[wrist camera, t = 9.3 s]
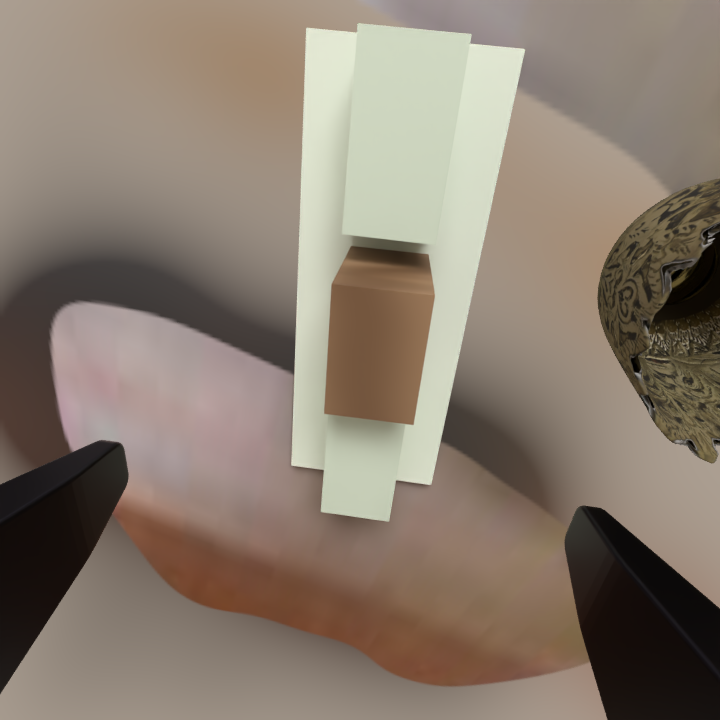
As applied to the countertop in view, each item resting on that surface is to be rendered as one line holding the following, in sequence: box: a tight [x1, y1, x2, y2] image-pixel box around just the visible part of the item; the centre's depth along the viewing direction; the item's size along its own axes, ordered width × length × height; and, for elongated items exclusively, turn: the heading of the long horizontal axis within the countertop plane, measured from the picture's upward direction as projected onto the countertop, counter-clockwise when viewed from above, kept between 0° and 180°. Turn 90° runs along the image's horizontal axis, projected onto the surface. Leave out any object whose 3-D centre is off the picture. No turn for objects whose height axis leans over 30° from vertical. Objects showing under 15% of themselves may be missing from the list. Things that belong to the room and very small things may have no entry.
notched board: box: [291, 23, 525, 522], centre depth 18 cm, size 7×18×4 cm, turn 174°
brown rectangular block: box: [324, 246, 435, 425], centre depth 16 cm, size 3×4×5 cm, turn 175°
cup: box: [598, 178, 720, 463], centre depth 14 cm, size 7×7×8 cm
